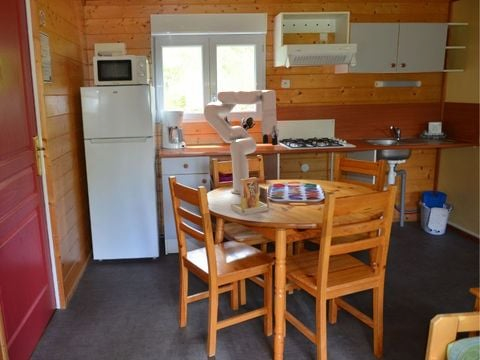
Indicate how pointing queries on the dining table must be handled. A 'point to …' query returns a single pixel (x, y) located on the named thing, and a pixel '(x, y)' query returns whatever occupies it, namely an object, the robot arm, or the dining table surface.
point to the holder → (262, 194)
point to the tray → (242, 211)
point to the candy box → (249, 192)
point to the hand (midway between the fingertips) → (270, 144)
